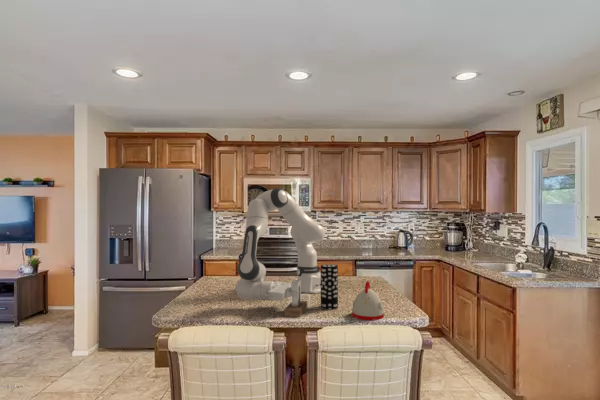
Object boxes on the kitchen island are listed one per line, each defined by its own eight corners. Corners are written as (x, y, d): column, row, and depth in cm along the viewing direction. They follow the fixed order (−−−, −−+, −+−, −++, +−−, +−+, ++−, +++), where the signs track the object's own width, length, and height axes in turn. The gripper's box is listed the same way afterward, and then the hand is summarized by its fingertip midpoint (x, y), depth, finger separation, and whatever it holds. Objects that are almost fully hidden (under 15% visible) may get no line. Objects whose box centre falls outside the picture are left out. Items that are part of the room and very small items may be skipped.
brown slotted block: (293, 306, 176) (292, 300, 176) (307, 307, 174) (307, 301, 174) (284, 316, 160) (284, 309, 160) (299, 317, 158) (299, 310, 158)
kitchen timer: (349, 318, 157) (348, 283, 157) (355, 309, 170) (355, 277, 170) (381, 321, 152) (381, 286, 152) (385, 312, 165) (385, 279, 165)
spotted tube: (320, 304, 178) (320, 264, 179) (337, 304, 178) (337, 264, 179) (321, 309, 170) (320, 266, 171) (338, 309, 170) (338, 267, 170)
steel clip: (294, 307, 170) (294, 279, 171) (300, 307, 170) (300, 280, 170) (291, 311, 164) (291, 282, 164) (297, 311, 163) (297, 282, 164)
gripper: (262, 288, 160) (292, 290, 157) (275, 279, 180) (302, 280, 177) (262, 303, 160) (292, 304, 157) (275, 292, 180) (302, 293, 177)
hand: (298, 292), depth 167 cm, fingers closed on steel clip, 6 cm apart
